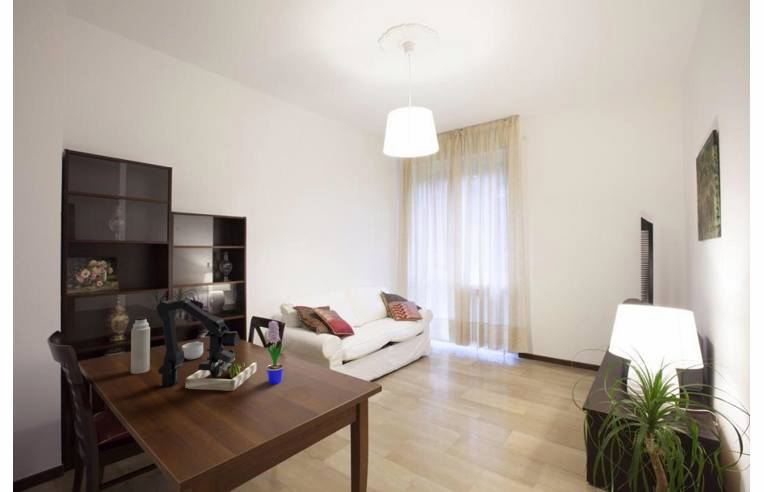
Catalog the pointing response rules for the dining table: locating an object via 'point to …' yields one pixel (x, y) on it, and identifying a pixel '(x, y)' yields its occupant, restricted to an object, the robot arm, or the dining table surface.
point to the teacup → (193, 350)
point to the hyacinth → (274, 355)
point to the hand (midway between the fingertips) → (215, 378)
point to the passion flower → (230, 368)
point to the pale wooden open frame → (218, 380)
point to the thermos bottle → (140, 346)
